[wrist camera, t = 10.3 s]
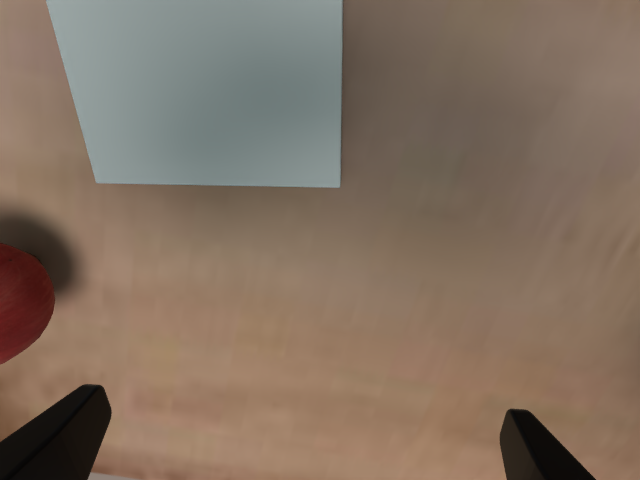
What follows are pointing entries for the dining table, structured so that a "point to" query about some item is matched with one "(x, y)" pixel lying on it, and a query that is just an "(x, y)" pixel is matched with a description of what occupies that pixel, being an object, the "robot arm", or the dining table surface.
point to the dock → (206, 89)
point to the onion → (22, 301)
